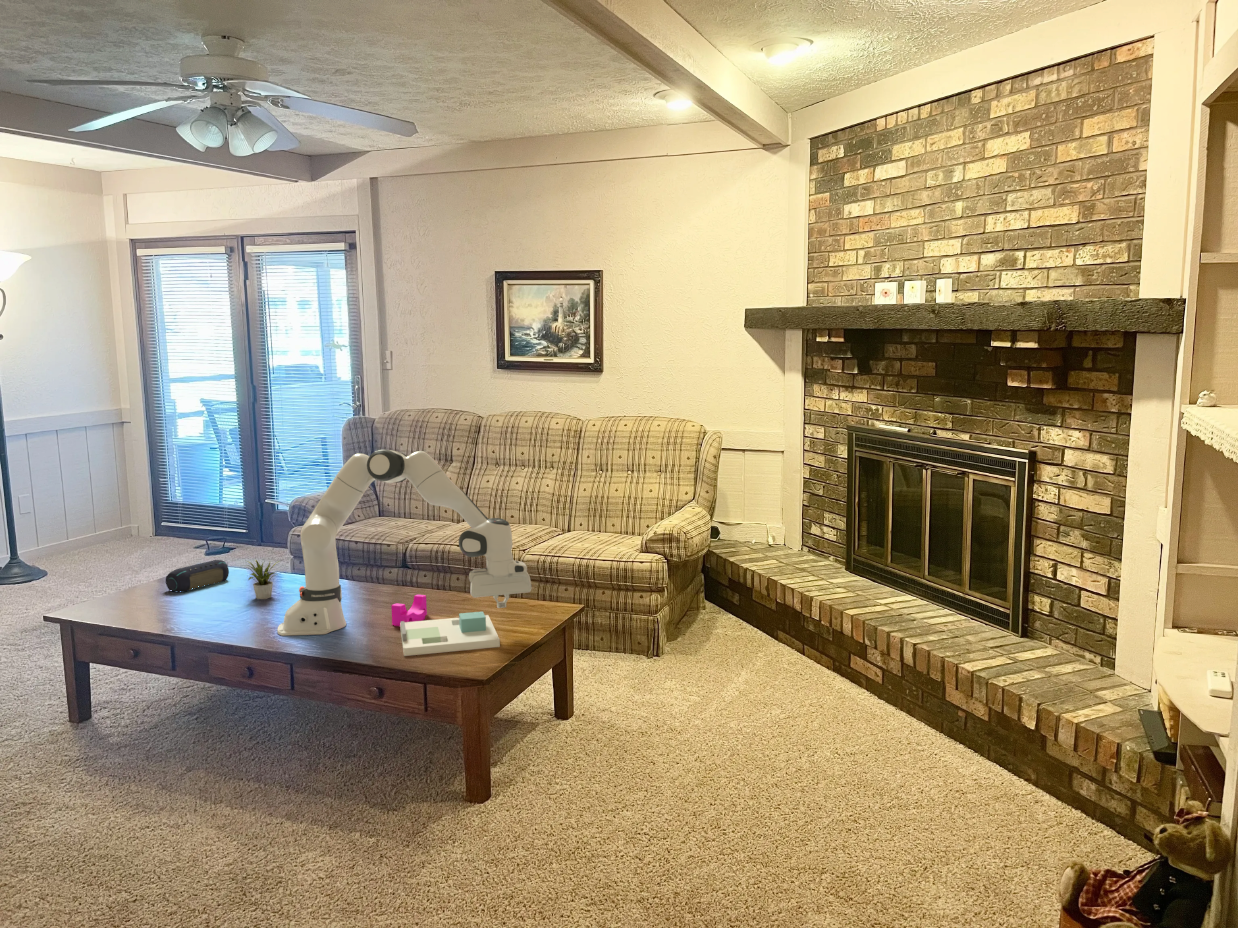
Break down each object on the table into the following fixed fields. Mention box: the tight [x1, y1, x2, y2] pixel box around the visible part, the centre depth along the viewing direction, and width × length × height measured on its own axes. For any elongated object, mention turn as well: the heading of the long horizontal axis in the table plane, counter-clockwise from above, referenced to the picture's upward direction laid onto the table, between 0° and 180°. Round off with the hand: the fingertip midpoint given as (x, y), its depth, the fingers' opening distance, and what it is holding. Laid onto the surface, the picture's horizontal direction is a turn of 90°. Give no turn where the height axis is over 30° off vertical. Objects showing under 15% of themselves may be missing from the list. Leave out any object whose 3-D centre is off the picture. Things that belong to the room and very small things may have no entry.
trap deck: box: [399, 614, 501, 657], centre depth 306 cm, size 30×28×5 cm
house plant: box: [242, 558, 280, 600], centre depth 355 cm, size 14×14×16 cm
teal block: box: [458, 611, 486, 633], centre depth 308 cm, size 8×7×4 cm
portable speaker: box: [165, 559, 230, 593], centre depth 374 cm, size 25×10×10 cm, turn 151°
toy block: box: [390, 593, 428, 627], centre depth 326 cm, size 15×6×8 cm, turn 156°
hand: (501, 607), depth 310 cm, fingers closed
